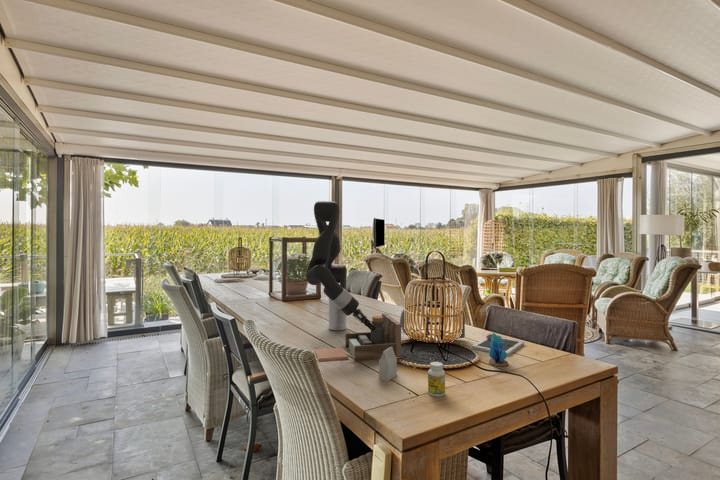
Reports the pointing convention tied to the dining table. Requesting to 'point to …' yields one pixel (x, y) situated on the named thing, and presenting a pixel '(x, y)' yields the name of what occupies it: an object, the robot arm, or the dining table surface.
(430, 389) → the supplement bottle
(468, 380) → the dining table surface
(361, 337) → the charcoal offcut
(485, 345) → the picture frame
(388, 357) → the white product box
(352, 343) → the sage offcut
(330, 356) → the terracotta pad
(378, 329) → the bottle
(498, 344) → the gemstone
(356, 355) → the walnut rack
